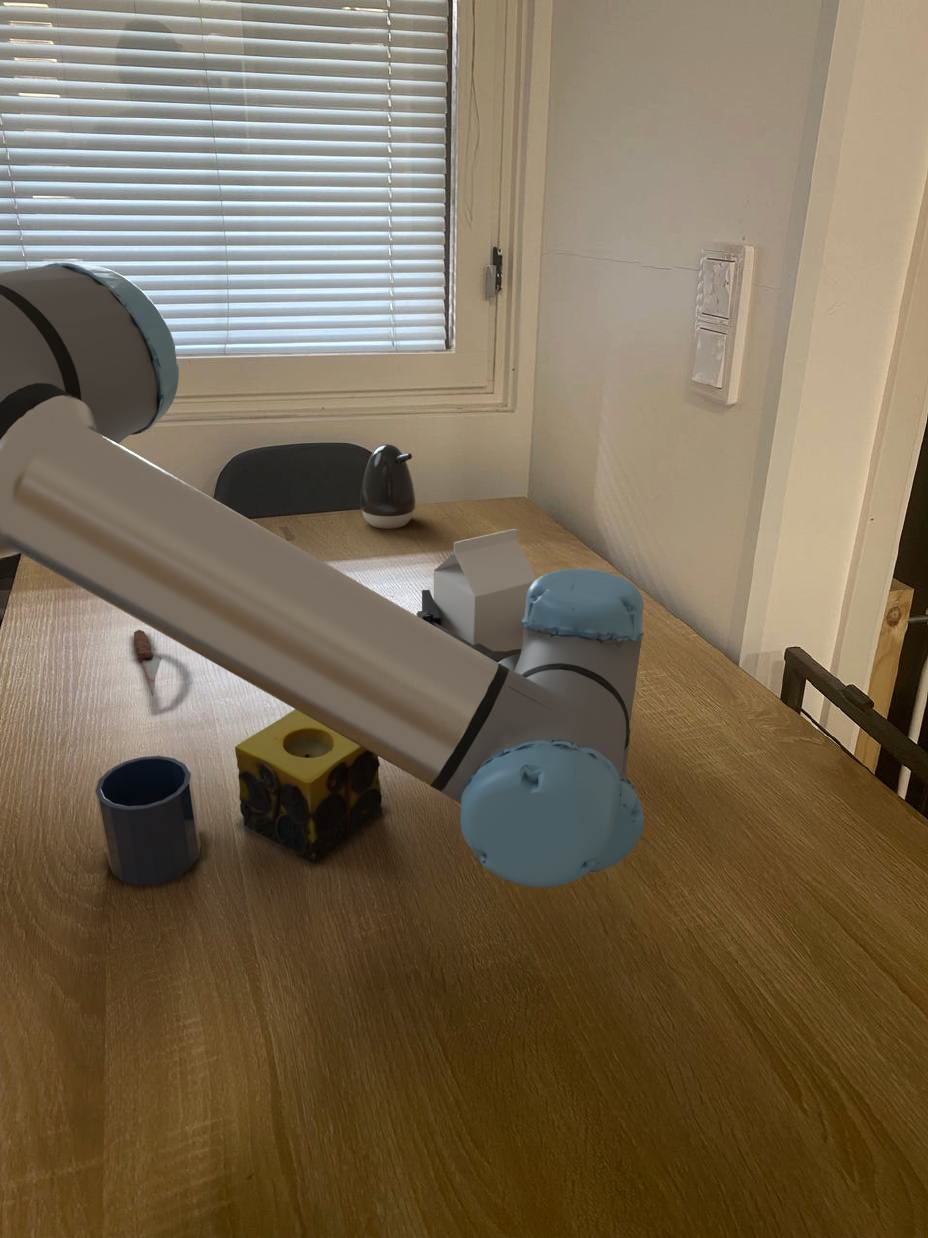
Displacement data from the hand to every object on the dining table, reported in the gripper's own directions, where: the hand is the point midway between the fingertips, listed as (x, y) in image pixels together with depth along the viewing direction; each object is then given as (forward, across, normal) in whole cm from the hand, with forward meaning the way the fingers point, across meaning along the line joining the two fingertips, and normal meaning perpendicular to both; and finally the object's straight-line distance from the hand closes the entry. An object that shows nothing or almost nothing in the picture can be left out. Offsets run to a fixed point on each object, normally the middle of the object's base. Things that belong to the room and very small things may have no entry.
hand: (473, 599), depth 92 cm
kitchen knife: (+26, -35, -20) cm, 48 cm away
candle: (-8, -18, -20) cm, 28 cm away
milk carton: (-4, 0, -11) cm, 12 cm away
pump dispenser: (+76, +1, -20) cm, 79 cm away
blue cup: (-11, -32, -20) cm, 39 cm away
